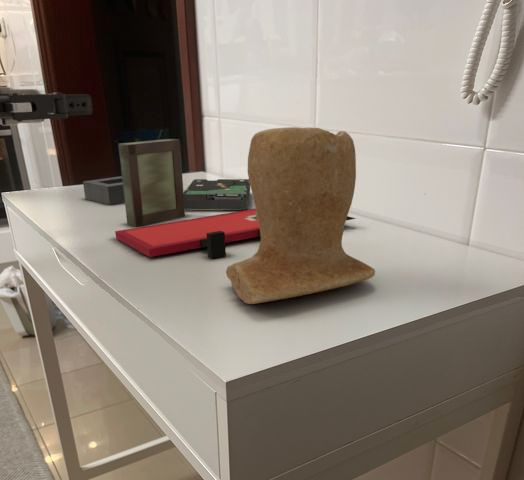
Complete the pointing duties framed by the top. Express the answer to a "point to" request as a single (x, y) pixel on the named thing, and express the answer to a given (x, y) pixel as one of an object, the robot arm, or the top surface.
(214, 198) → the disk drive
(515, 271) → the top surface
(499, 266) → the top surface
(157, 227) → the red board with handle
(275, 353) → the top surface
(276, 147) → the brown stone sculpture
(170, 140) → the picture frame
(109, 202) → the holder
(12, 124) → the robot arm
